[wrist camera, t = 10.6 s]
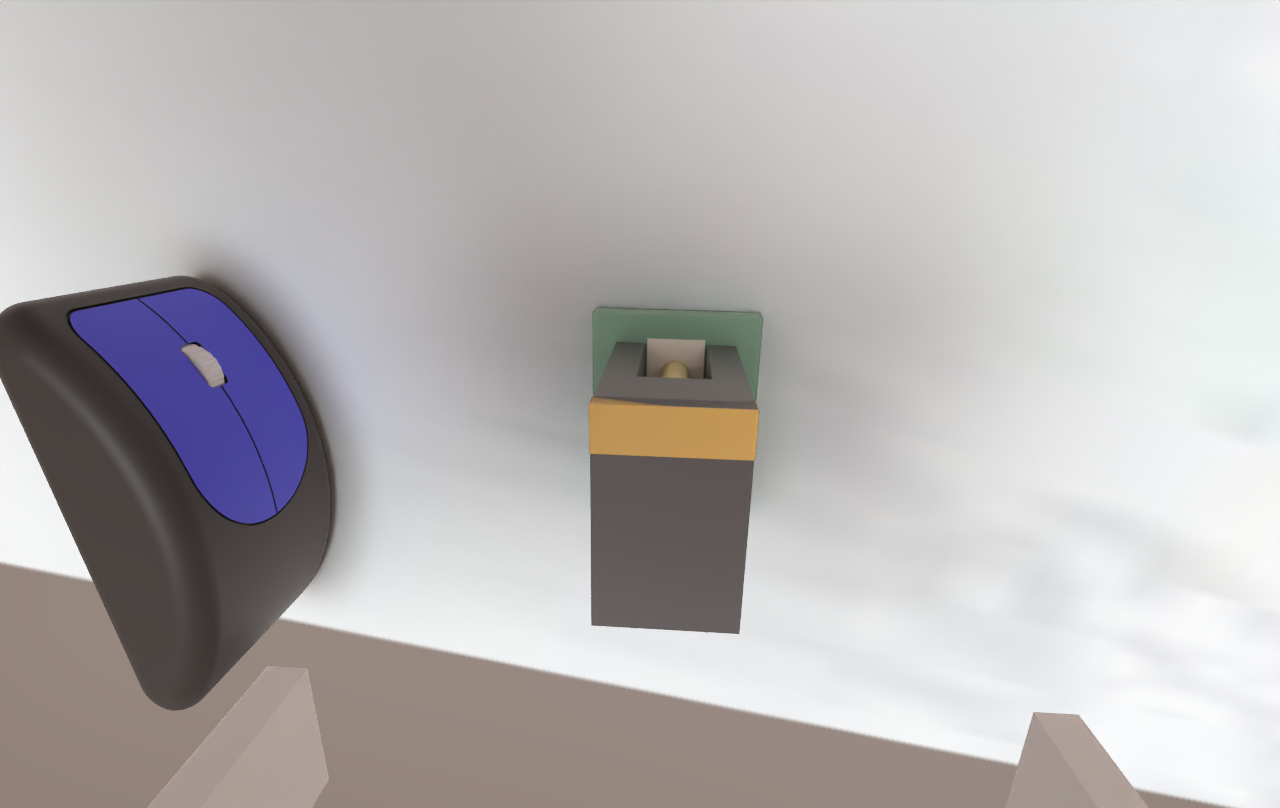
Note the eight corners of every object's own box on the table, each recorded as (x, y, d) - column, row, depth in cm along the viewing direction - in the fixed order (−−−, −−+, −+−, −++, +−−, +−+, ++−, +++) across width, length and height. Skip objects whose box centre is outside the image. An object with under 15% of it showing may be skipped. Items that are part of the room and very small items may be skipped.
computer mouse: (371, 579, 33) (254, 726, 24) (288, 584, 33) (143, 731, 24) (278, 262, 27) (85, 297, 19) (182, 274, 28) (-53, 313, 19)
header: (596, 307, 27) (575, 336, 22) (759, 312, 27) (778, 342, 22) (597, 513, 30) (579, 581, 25) (742, 520, 30) (755, 591, 25)
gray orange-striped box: (615, 342, 26) (588, 404, 19) (736, 346, 26) (759, 410, 18) (614, 511, 29) (590, 627, 21) (724, 516, 29) (740, 635, 21)
